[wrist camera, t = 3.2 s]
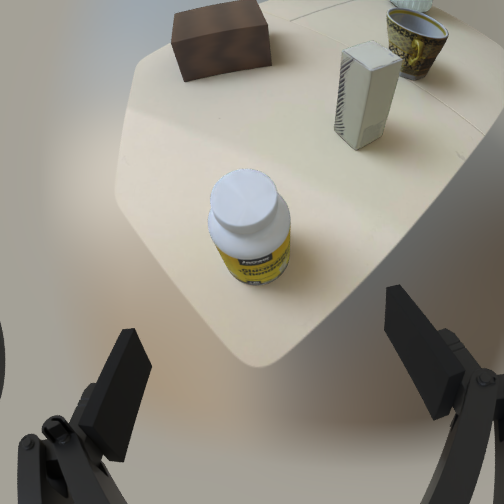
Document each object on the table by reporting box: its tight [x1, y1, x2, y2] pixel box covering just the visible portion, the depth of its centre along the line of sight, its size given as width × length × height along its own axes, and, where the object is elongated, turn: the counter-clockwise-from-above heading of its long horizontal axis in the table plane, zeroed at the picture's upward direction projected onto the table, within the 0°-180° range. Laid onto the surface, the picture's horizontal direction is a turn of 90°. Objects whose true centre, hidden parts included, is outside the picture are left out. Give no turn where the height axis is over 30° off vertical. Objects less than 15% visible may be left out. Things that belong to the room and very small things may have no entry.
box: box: [334, 40, 403, 150], centre depth 31 cm, size 5×4×13 cm
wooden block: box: [171, 0, 272, 82], centre depth 42 cm, size 14×12×8 cm
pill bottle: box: [208, 169, 291, 285], centre depth 27 cm, size 6×6×12 cm
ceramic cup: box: [387, 8, 449, 80], centre depth 36 cm, size 13×10×10 cm
